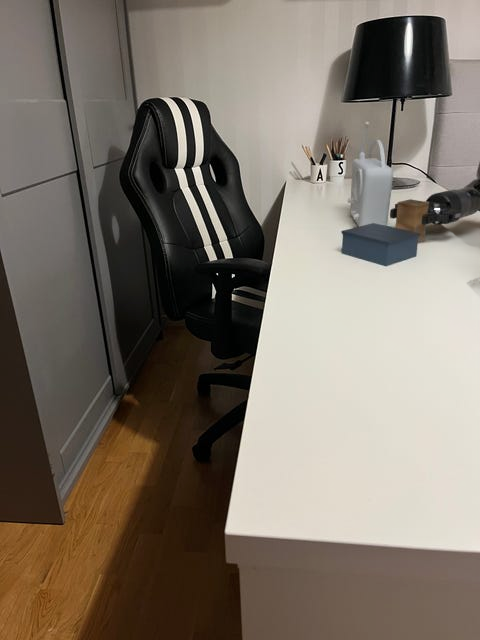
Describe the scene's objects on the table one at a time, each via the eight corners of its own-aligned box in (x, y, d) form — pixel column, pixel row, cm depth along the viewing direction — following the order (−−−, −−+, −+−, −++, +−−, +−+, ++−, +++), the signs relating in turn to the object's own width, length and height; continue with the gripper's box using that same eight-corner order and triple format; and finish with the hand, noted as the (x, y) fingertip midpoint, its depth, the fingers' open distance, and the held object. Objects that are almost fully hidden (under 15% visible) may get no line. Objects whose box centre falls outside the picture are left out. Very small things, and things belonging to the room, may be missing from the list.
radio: (343, 213, 144) (348, 120, 134) (372, 213, 144) (380, 119, 133) (355, 233, 124) (362, 125, 114) (389, 232, 124) (399, 124, 113)
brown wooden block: (424, 241, 116) (429, 202, 112) (412, 245, 114) (416, 205, 110) (405, 237, 120) (410, 199, 116) (393, 240, 117) (397, 202, 114)
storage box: (417, 256, 106) (420, 233, 104) (386, 266, 100) (388, 242, 98) (371, 244, 115) (373, 222, 113) (340, 253, 110) (341, 230, 107)
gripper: (424, 187, 126) (382, 196, 117) (478, 194, 115) (437, 204, 106) (421, 217, 129) (380, 227, 120) (473, 226, 118) (432, 239, 110)
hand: (407, 216), depth 113 cm, fingers open, 8 cm apart
